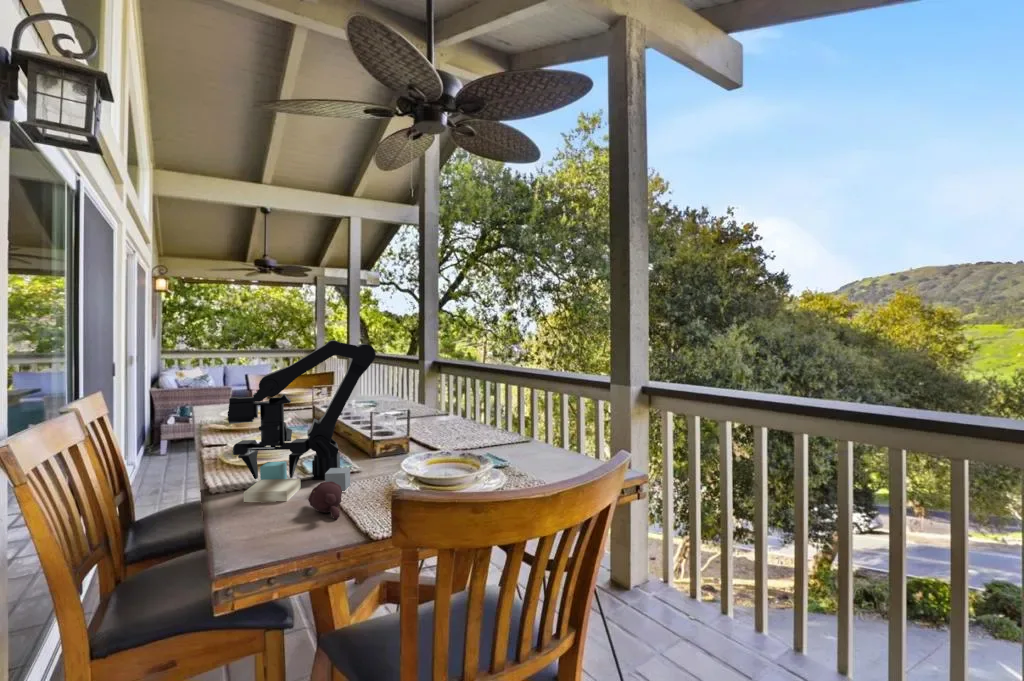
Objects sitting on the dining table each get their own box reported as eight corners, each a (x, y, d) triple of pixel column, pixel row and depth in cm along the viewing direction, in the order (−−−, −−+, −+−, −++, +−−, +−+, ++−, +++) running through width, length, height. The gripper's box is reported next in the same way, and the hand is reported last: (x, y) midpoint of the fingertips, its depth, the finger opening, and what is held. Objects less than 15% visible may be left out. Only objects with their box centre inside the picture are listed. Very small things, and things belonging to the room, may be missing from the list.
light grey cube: (350, 486, 136) (349, 467, 136) (345, 492, 131) (345, 473, 131) (330, 487, 136) (330, 468, 135) (325, 493, 131) (324, 473, 130)
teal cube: (286, 479, 143) (286, 461, 142) (280, 485, 138) (279, 466, 137) (268, 480, 142) (267, 461, 142) (260, 485, 137) (260, 467, 137)
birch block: (300, 490, 135) (300, 478, 134) (286, 503, 125) (286, 490, 124) (260, 491, 134) (260, 479, 134) (243, 504, 124) (243, 492, 124)
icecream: (299, 478, 122) (312, 502, 109) (330, 466, 125) (347, 487, 113) (307, 504, 123) (321, 531, 111) (337, 491, 127) (355, 515, 114)
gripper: (317, 414, 148) (318, 468, 149) (249, 416, 147) (251, 470, 147) (304, 422, 137) (305, 480, 137) (230, 423, 136) (232, 482, 136)
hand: (273, 478), depth 140 cm, fingers open, 9 cm apart
